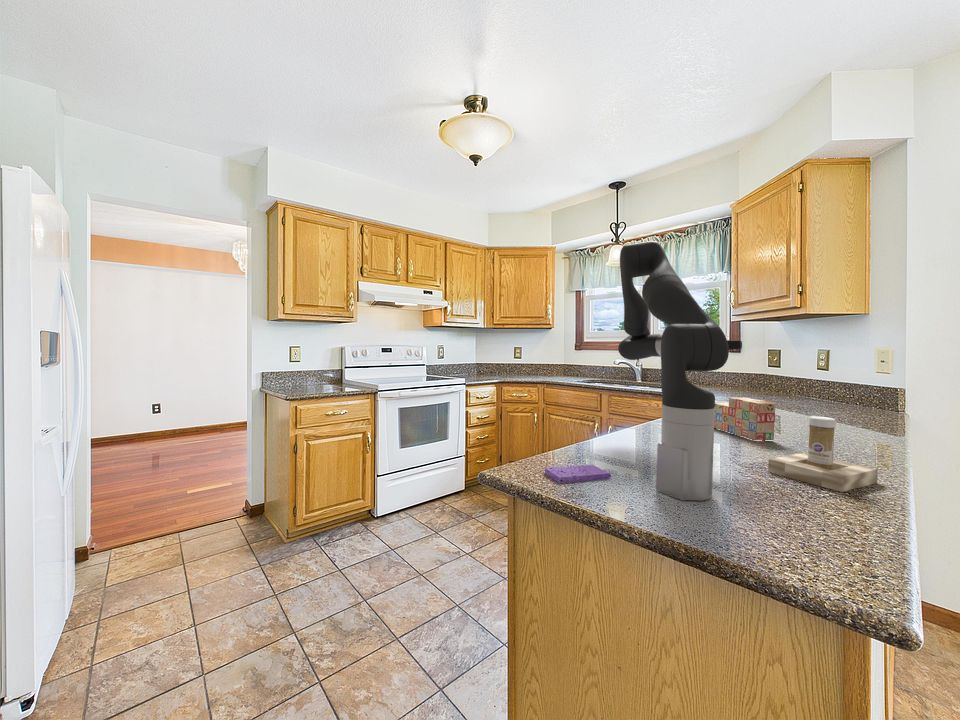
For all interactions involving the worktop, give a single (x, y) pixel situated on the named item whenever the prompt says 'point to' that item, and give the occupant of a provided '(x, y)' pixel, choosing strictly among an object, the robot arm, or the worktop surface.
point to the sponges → (576, 473)
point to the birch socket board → (824, 472)
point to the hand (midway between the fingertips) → (729, 344)
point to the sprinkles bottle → (821, 441)
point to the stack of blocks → (746, 418)
